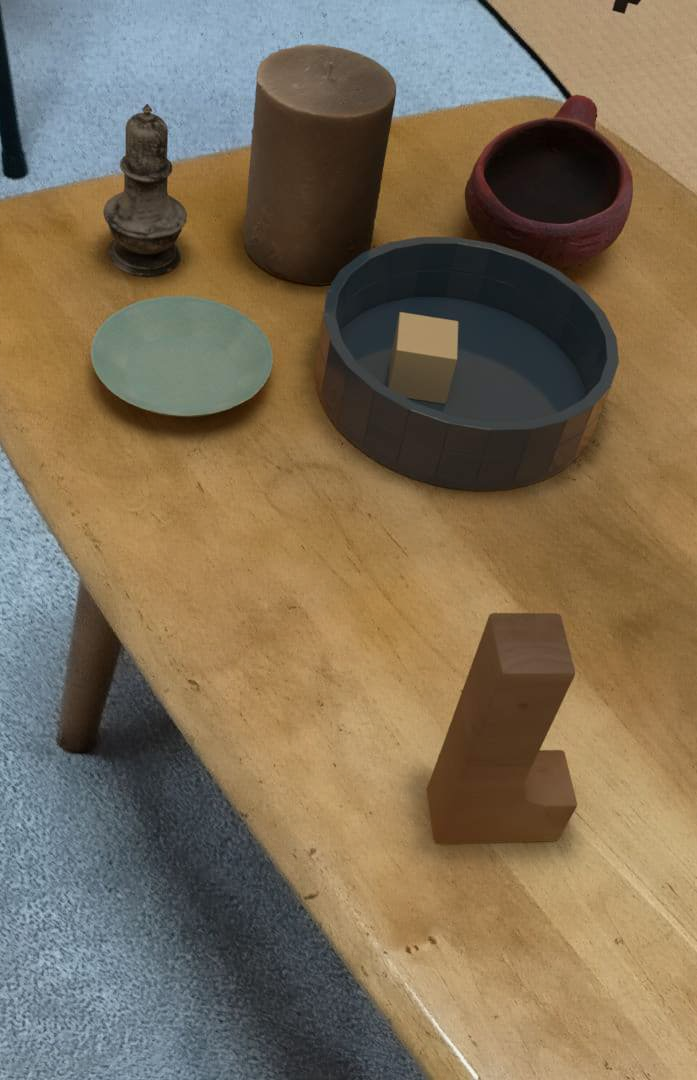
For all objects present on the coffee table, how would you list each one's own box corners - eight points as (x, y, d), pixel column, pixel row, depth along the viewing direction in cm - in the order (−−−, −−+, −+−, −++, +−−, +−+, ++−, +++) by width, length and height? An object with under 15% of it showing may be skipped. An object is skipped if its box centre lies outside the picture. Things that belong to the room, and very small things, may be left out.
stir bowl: (618, 351, 91) (642, 290, 87) (560, 530, 78) (584, 469, 74) (368, 269, 93) (380, 206, 89) (271, 429, 80) (279, 365, 76)
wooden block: (434, 845, 62) (502, 673, 51) (425, 787, 64) (488, 610, 53) (559, 842, 63) (652, 673, 52) (546, 785, 65) (633, 611, 54)
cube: (446, 366, 86) (458, 320, 83) (445, 404, 83) (457, 359, 80) (390, 357, 86) (399, 311, 83) (386, 395, 83) (396, 349, 80)
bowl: (633, 295, 96) (666, 206, 90) (474, 294, 93) (498, 203, 87) (574, 177, 106) (601, 90, 100) (430, 173, 103) (448, 84, 97)
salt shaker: (132, 288, 88) (133, 136, 79) (88, 244, 91) (84, 93, 82) (201, 264, 91) (209, 115, 82) (156, 222, 93) (159, 73, 85)
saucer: (136, 460, 77) (137, 434, 75) (63, 345, 83) (61, 318, 81) (301, 411, 82) (305, 385, 80) (220, 305, 88) (222, 279, 86)
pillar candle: (388, 276, 93) (425, 92, 82) (266, 294, 90) (287, 104, 78) (340, 202, 99) (368, 20, 87) (223, 216, 95) (237, 29, 84)
